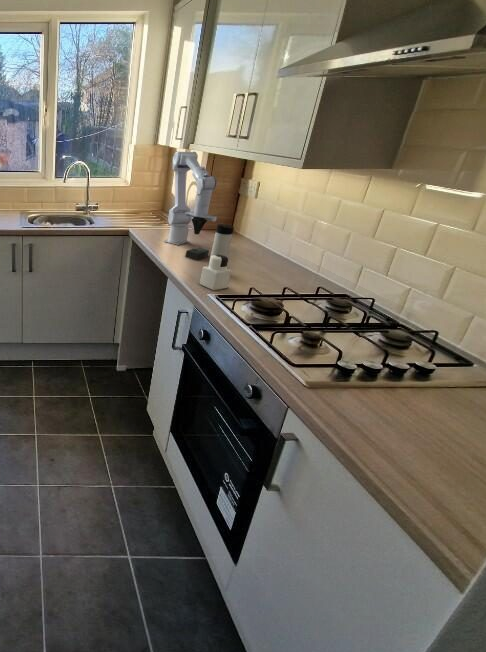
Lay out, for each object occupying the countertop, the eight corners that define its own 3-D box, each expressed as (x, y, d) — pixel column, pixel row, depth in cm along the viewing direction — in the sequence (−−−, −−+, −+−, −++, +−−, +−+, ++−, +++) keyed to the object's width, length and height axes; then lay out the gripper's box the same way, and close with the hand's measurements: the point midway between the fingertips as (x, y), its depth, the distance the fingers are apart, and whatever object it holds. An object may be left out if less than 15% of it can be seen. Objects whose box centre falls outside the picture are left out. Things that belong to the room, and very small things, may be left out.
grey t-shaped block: (198, 253, 196) (199, 247, 195) (207, 256, 192) (209, 249, 191) (190, 255, 193) (191, 249, 191) (200, 258, 189) (201, 252, 188)
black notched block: (192, 254, 194) (193, 248, 193) (203, 258, 190) (205, 251, 188) (185, 256, 191) (186, 250, 190) (197, 260, 187) (198, 253, 185)
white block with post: (213, 281, 162) (219, 252, 157) (227, 288, 156) (234, 257, 151) (199, 284, 160) (205, 254, 155) (213, 290, 154) (219, 260, 149)
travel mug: (203, 270, 174) (213, 223, 166) (214, 268, 177) (225, 222, 168) (215, 275, 169) (226, 227, 161) (227, 273, 172) (238, 225, 163)
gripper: (183, 202, 190) (177, 231, 195) (212, 208, 179) (206, 238, 185) (191, 201, 194) (186, 229, 199) (221, 206, 183) (215, 236, 189)
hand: (196, 233), depth 192 cm, fingers closed
